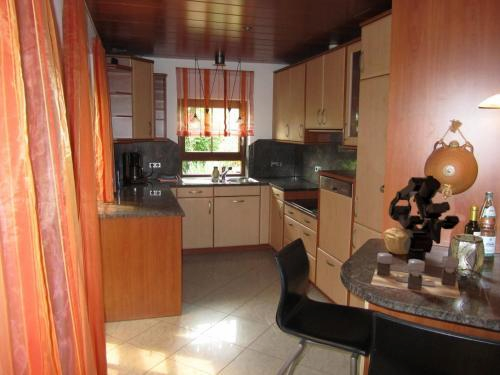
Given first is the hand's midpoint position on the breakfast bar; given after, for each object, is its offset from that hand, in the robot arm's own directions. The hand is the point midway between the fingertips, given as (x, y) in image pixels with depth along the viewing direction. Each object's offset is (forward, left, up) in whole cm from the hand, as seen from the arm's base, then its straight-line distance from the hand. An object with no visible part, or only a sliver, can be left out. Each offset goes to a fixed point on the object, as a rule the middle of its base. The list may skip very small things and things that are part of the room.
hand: (438, 243), depth 148 cm
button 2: (+2, +7, -9) cm, 11 cm away
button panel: (+12, +2, -14) cm, 18 cm away
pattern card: (+11, +1, -12) cm, 16 cm away
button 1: (+16, -9, -10) cm, 21 cm away
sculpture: (-12, -29, -14) cm, 34 cm away
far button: (+15, +5, -9) cm, 18 cm away
